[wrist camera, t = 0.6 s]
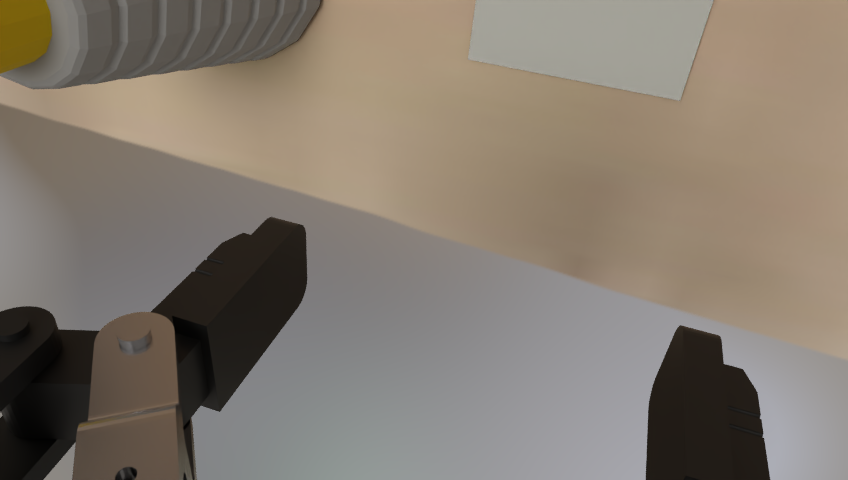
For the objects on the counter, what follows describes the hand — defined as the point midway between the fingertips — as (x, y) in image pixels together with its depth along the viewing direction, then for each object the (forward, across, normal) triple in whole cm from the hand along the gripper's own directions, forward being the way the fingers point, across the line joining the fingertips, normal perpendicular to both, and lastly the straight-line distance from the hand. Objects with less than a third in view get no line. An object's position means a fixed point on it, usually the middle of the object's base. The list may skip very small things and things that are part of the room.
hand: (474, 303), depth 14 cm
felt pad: (+23, 0, -1) cm, 23 cm away
